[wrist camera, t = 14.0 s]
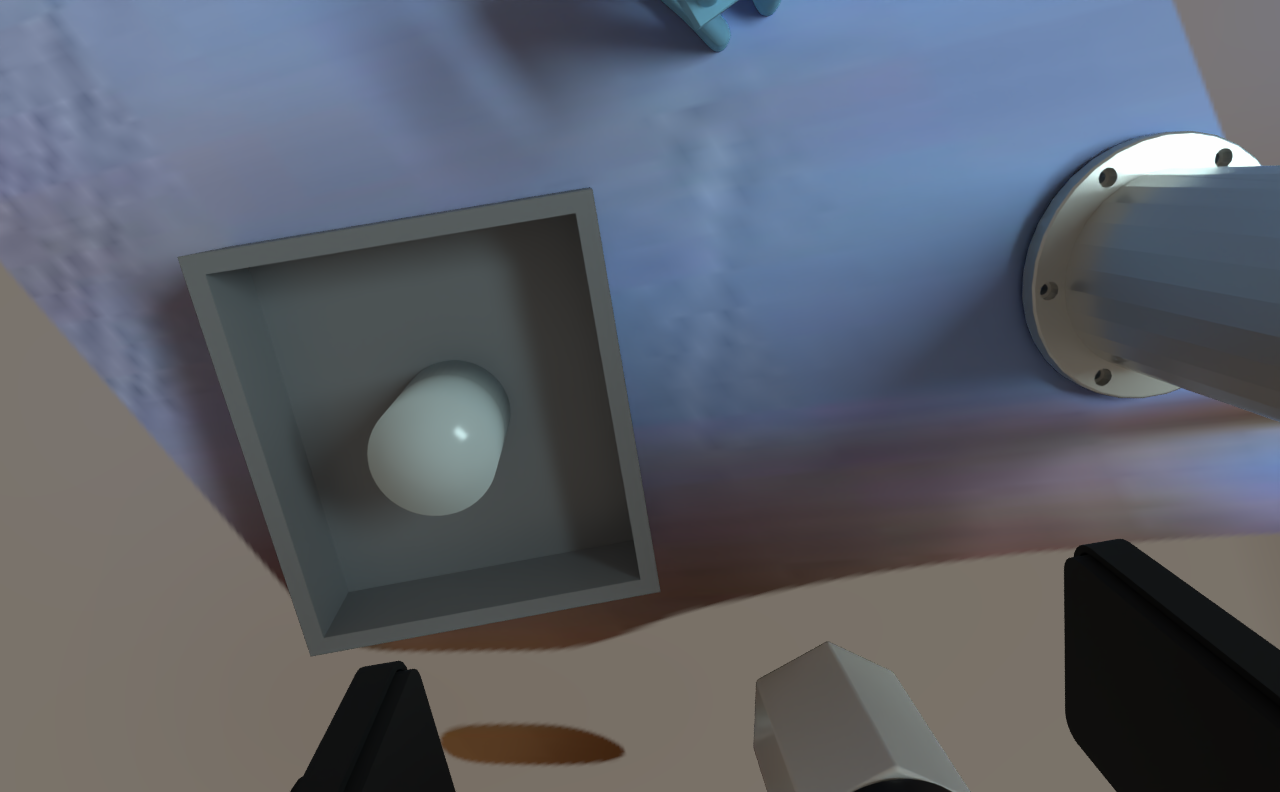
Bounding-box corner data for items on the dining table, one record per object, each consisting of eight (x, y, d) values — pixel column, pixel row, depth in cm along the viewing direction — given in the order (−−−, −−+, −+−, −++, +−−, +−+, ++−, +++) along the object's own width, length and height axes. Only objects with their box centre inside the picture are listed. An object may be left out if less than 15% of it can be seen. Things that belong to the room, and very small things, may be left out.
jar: (717, 734, 42) (770, 941, 31) (794, 621, 41) (881, 795, 29) (846, 789, 44) (941, 1003, 33) (925, 682, 43) (1054, 869, 31)
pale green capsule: (497, 351, 35) (481, 385, 29) (520, 451, 36) (509, 503, 30) (389, 370, 34) (352, 409, 29) (416, 470, 36) (385, 526, 30)
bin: (589, 187, 33) (592, 188, 29) (650, 545, 39) (660, 591, 34) (229, 246, 33) (177, 257, 29) (340, 602, 38) (310, 656, 34)
